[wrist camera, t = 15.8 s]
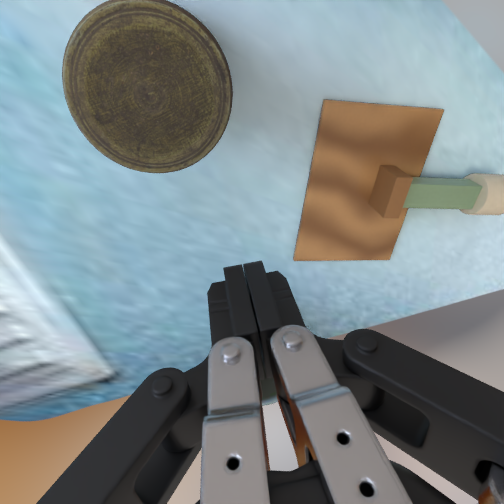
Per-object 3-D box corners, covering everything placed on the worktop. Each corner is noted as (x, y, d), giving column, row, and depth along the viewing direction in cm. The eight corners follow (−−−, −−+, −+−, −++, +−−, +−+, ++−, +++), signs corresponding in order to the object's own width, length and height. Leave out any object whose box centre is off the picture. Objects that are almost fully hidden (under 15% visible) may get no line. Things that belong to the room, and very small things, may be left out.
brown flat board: (323, 99, 37) (325, 100, 36) (441, 108, 39) (444, 109, 39) (293, 258, 47) (294, 261, 47) (387, 258, 50) (389, 260, 49)
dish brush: (399, 178, 38) (524, 183, 41) (377, 163, 42) (493, 168, 45) (385, 220, 40) (504, 222, 43) (366, 202, 44) (476, 204, 47)
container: (153, -24, 29) (122, -73, 14) (233, 61, 33) (272, 91, 19) (93, 64, 32) (13, 101, 17) (174, 132, 36) (167, 210, 21)
